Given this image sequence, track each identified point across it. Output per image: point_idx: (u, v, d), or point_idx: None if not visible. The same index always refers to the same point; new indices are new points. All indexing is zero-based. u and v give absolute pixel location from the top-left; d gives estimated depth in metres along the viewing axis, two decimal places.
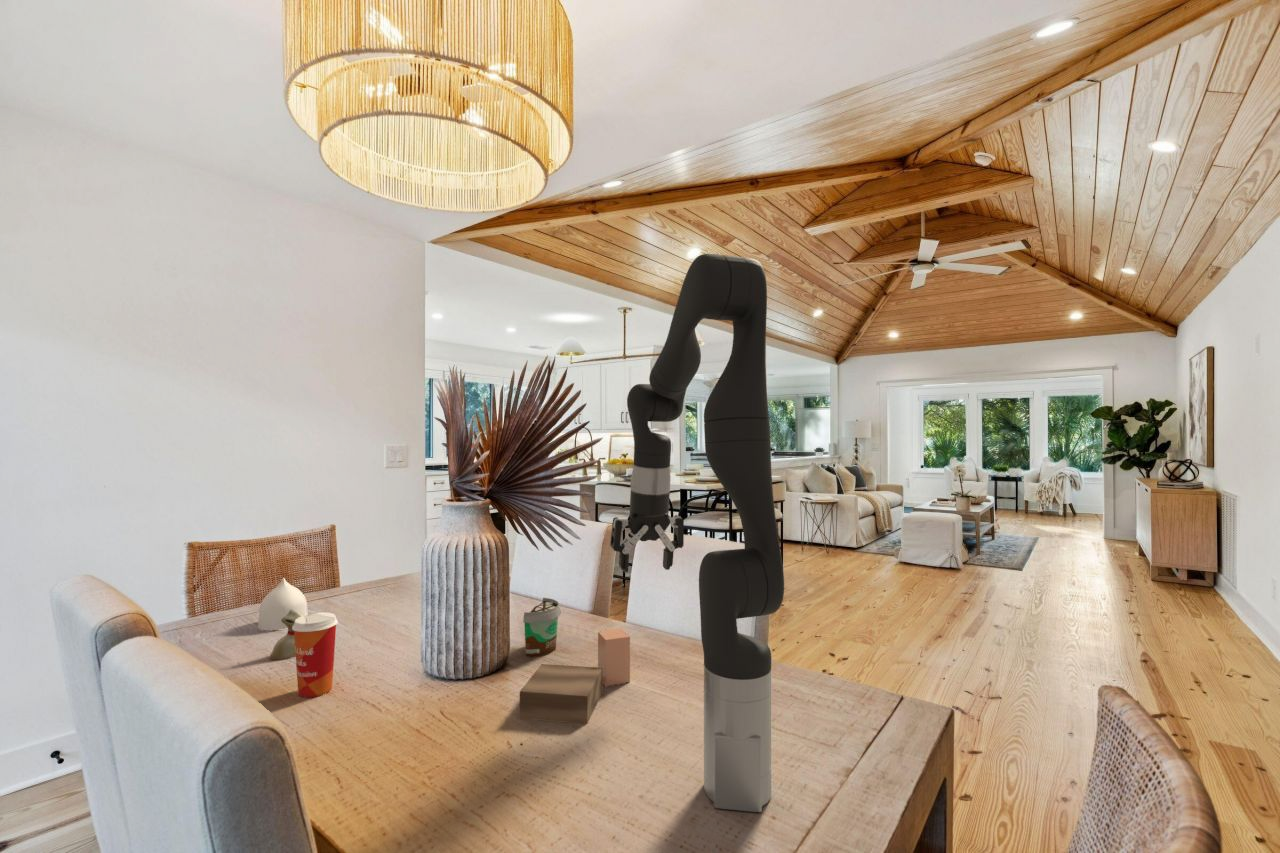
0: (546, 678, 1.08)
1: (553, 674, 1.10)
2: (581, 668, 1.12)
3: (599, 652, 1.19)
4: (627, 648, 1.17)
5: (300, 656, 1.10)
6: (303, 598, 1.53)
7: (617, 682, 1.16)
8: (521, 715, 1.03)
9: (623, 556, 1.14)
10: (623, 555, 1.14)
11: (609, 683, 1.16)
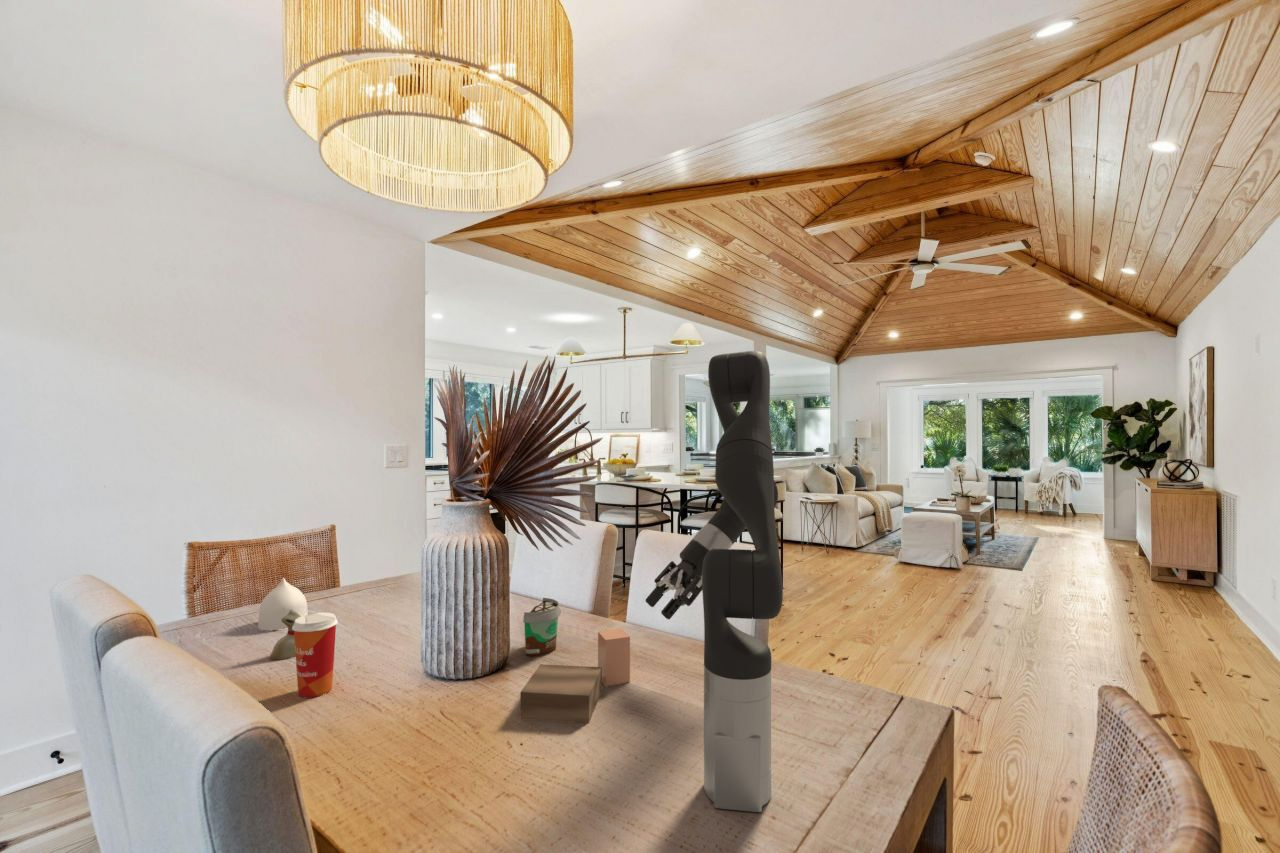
0: (546, 678, 1.08)
1: (552, 674, 1.10)
2: (580, 668, 1.12)
3: (599, 652, 1.19)
4: (627, 648, 1.17)
5: (300, 656, 1.10)
6: (303, 598, 1.53)
7: (617, 682, 1.16)
8: (522, 716, 1.03)
9: None
10: None
11: (609, 683, 1.16)
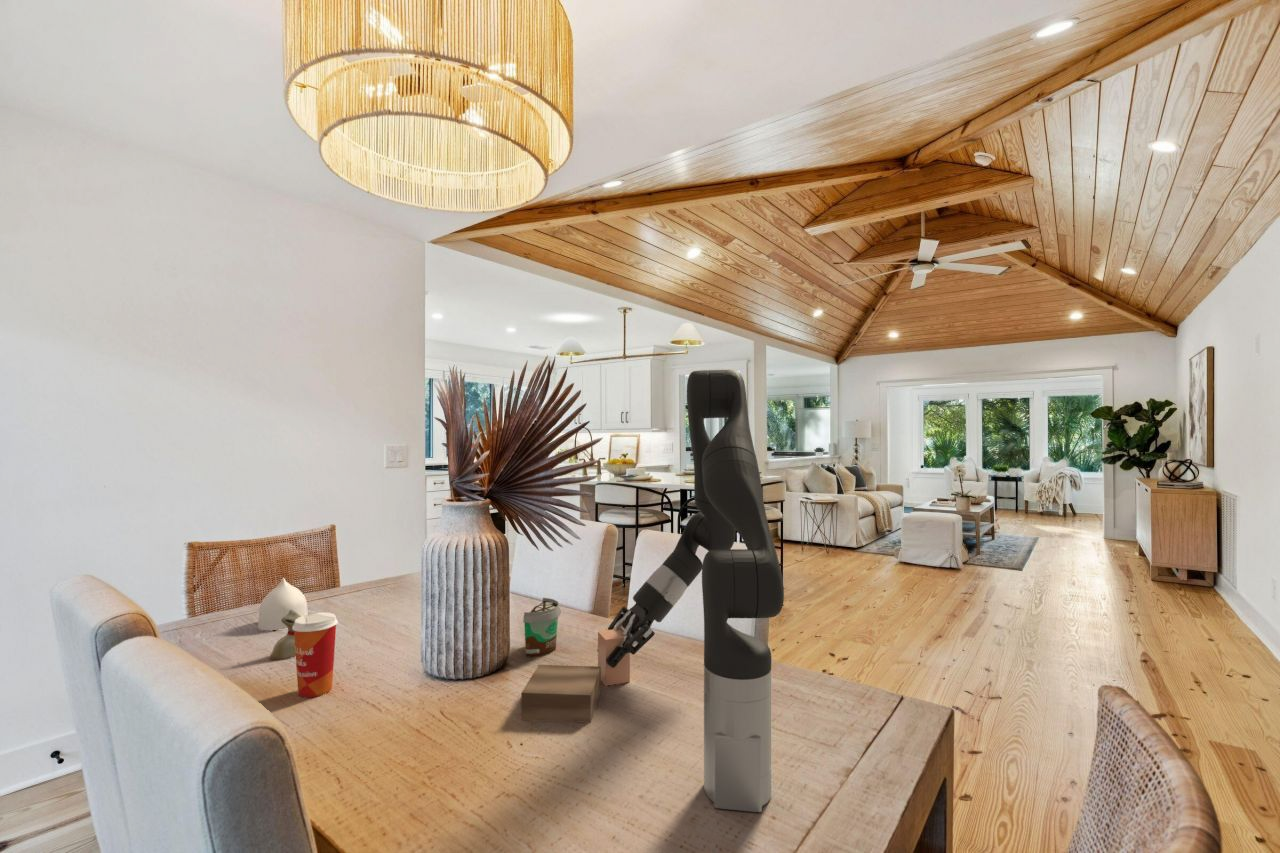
0: (545, 678, 1.08)
1: (552, 674, 1.10)
2: (579, 668, 1.13)
3: (599, 652, 1.19)
4: None
5: (300, 656, 1.10)
6: (303, 598, 1.53)
7: (617, 682, 1.16)
8: (523, 716, 1.02)
9: None
10: None
11: (609, 682, 1.16)
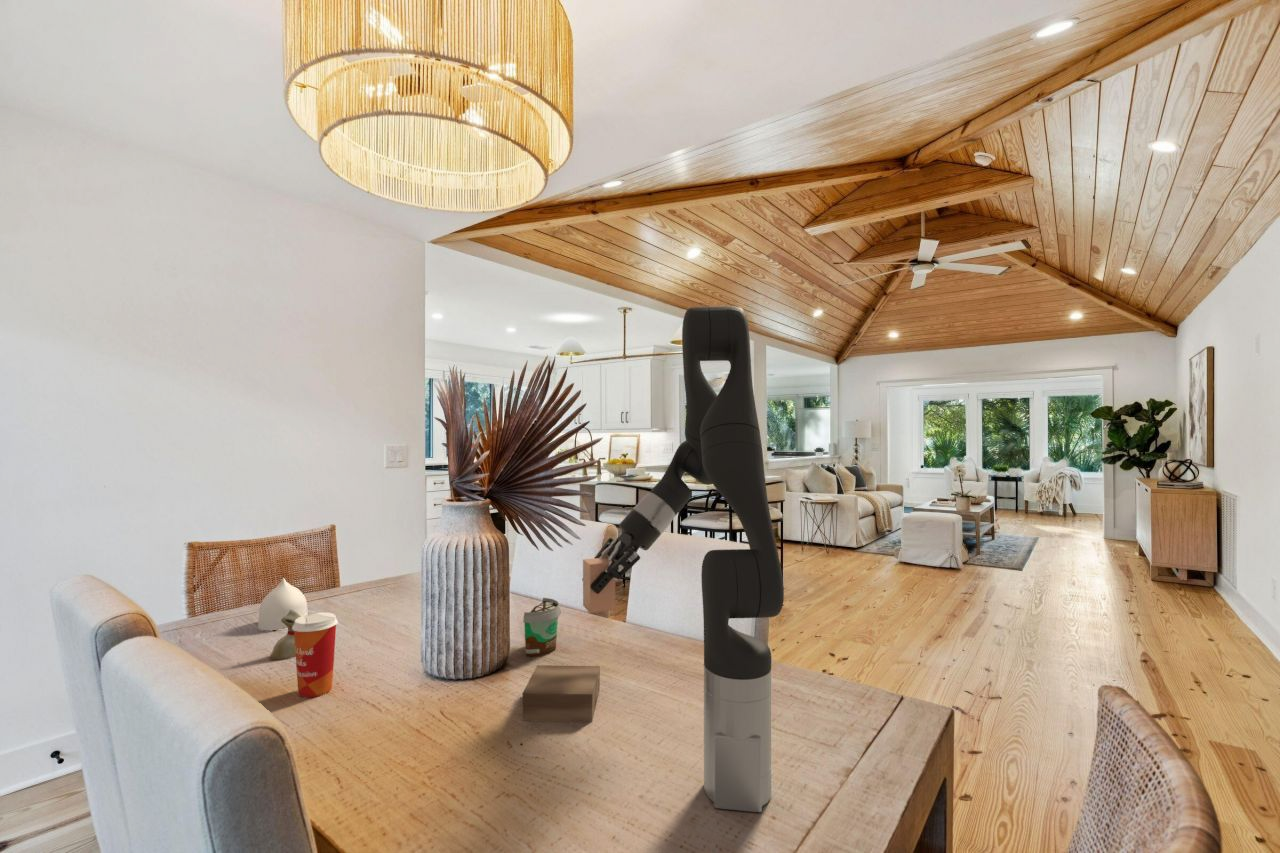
0: (545, 678, 1.08)
1: (551, 674, 1.10)
2: (578, 668, 1.13)
3: (584, 580, 1.15)
4: None
5: (300, 656, 1.10)
6: (303, 598, 1.53)
7: (602, 609, 1.12)
8: (524, 717, 1.02)
9: None
10: None
11: (594, 609, 1.12)
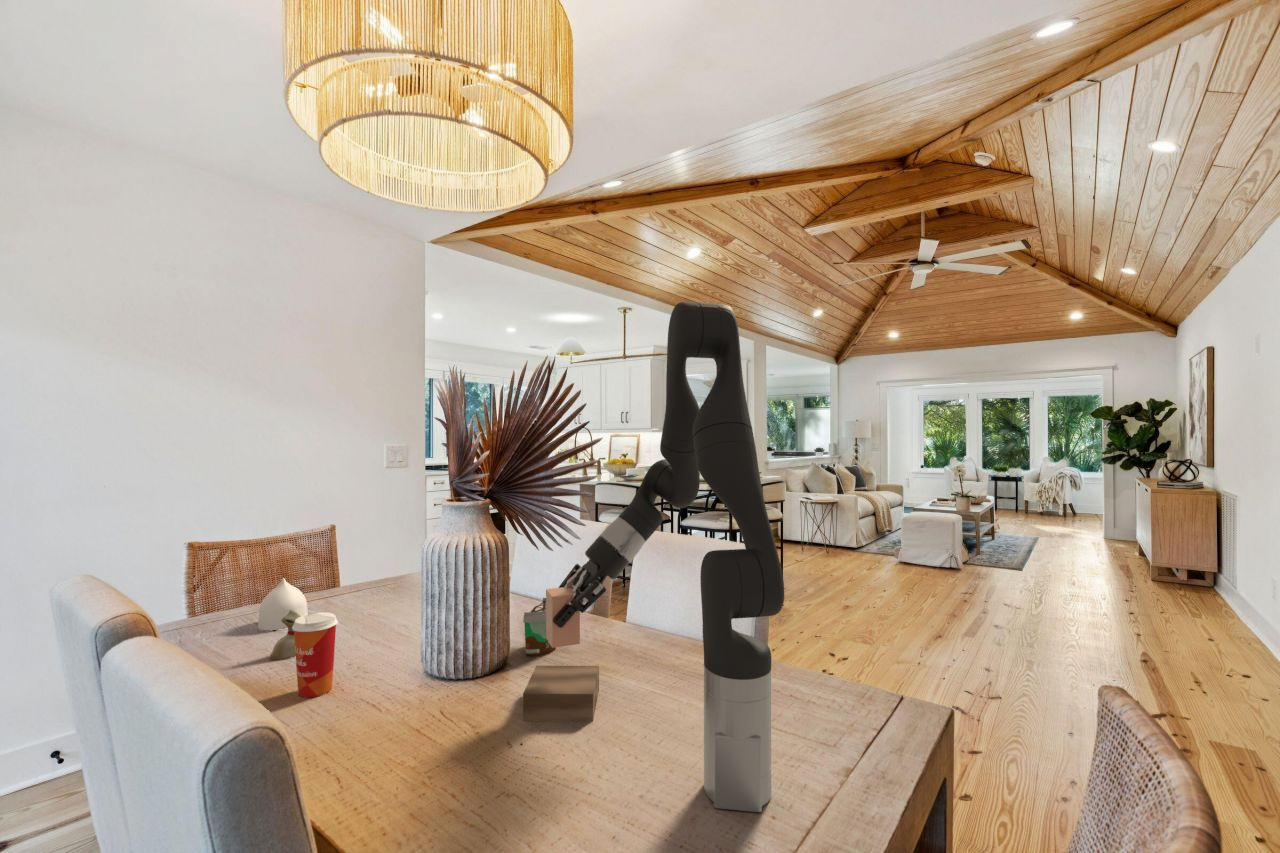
0: (545, 679, 1.08)
1: (551, 675, 1.10)
2: (577, 668, 1.13)
3: (547, 611, 1.08)
4: None
5: (300, 656, 1.10)
6: (303, 598, 1.53)
7: (565, 643, 1.06)
8: (524, 717, 1.02)
9: None
10: None
11: (556, 644, 1.05)
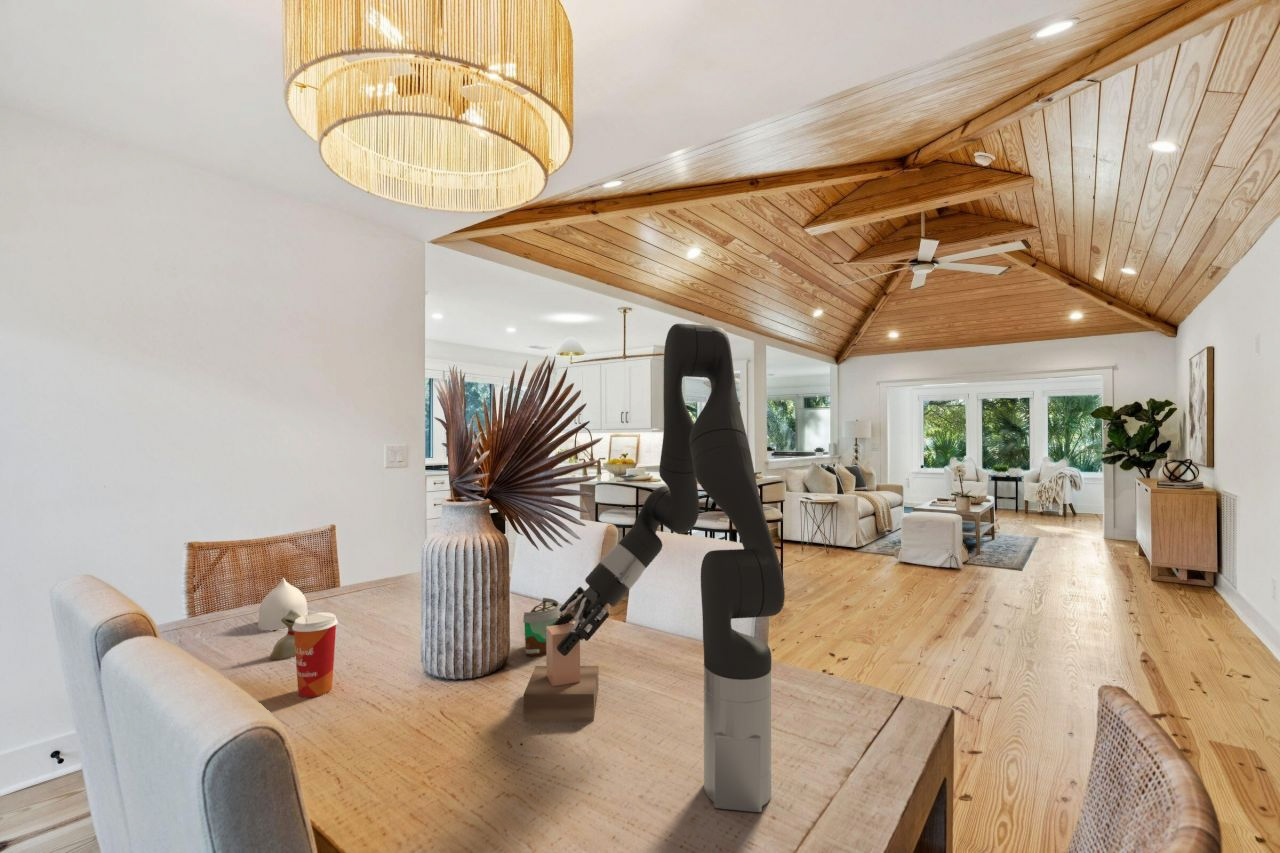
0: (545, 679, 1.08)
1: None
2: None
3: (547, 649, 1.08)
4: (577, 644, 1.06)
5: (300, 656, 1.10)
6: (303, 598, 1.53)
7: (566, 681, 1.06)
8: (525, 718, 1.02)
9: None
10: None
11: (557, 682, 1.05)
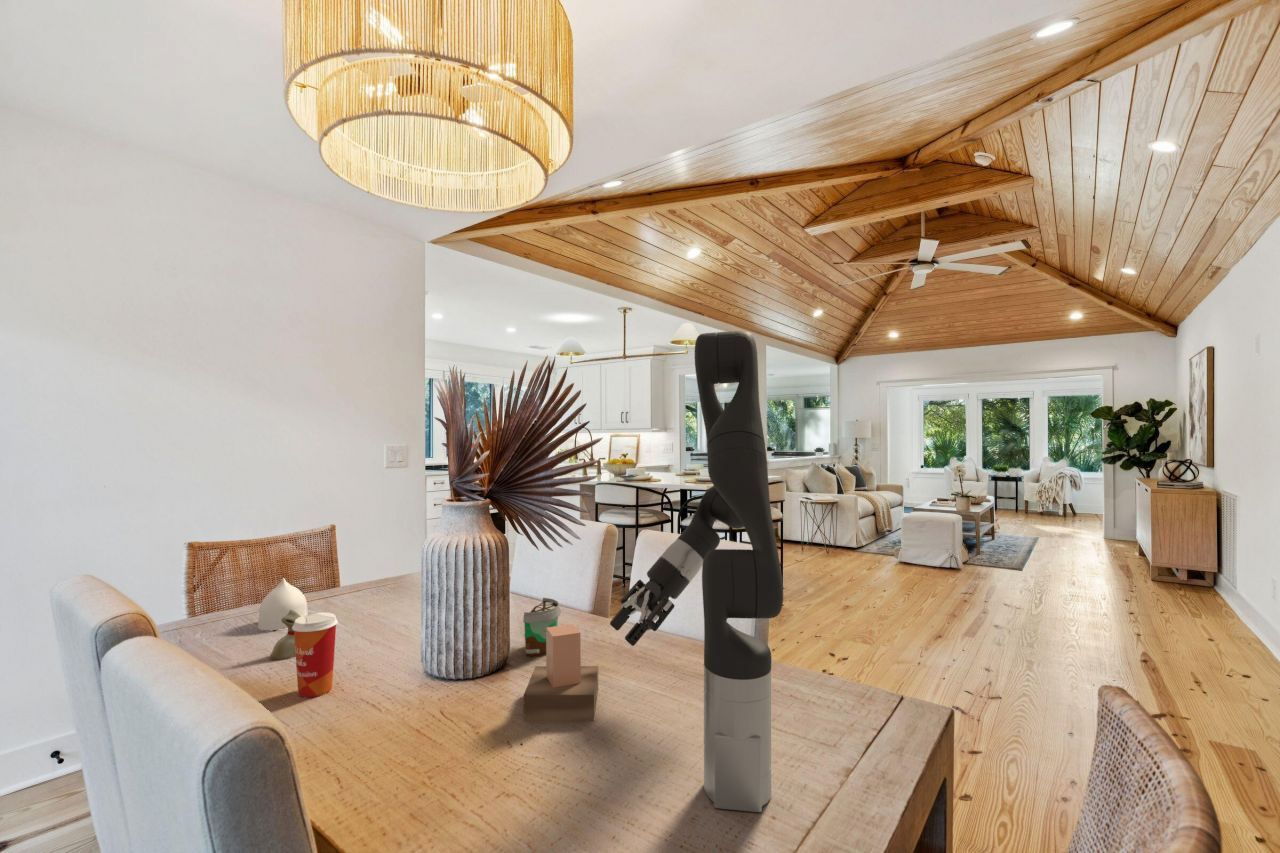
0: (545, 680, 1.08)
1: None
2: None
3: (547, 650, 1.08)
4: (577, 645, 1.06)
5: (300, 656, 1.10)
6: (303, 598, 1.53)
7: (566, 683, 1.05)
8: (525, 719, 1.02)
9: None
10: None
11: (557, 684, 1.05)
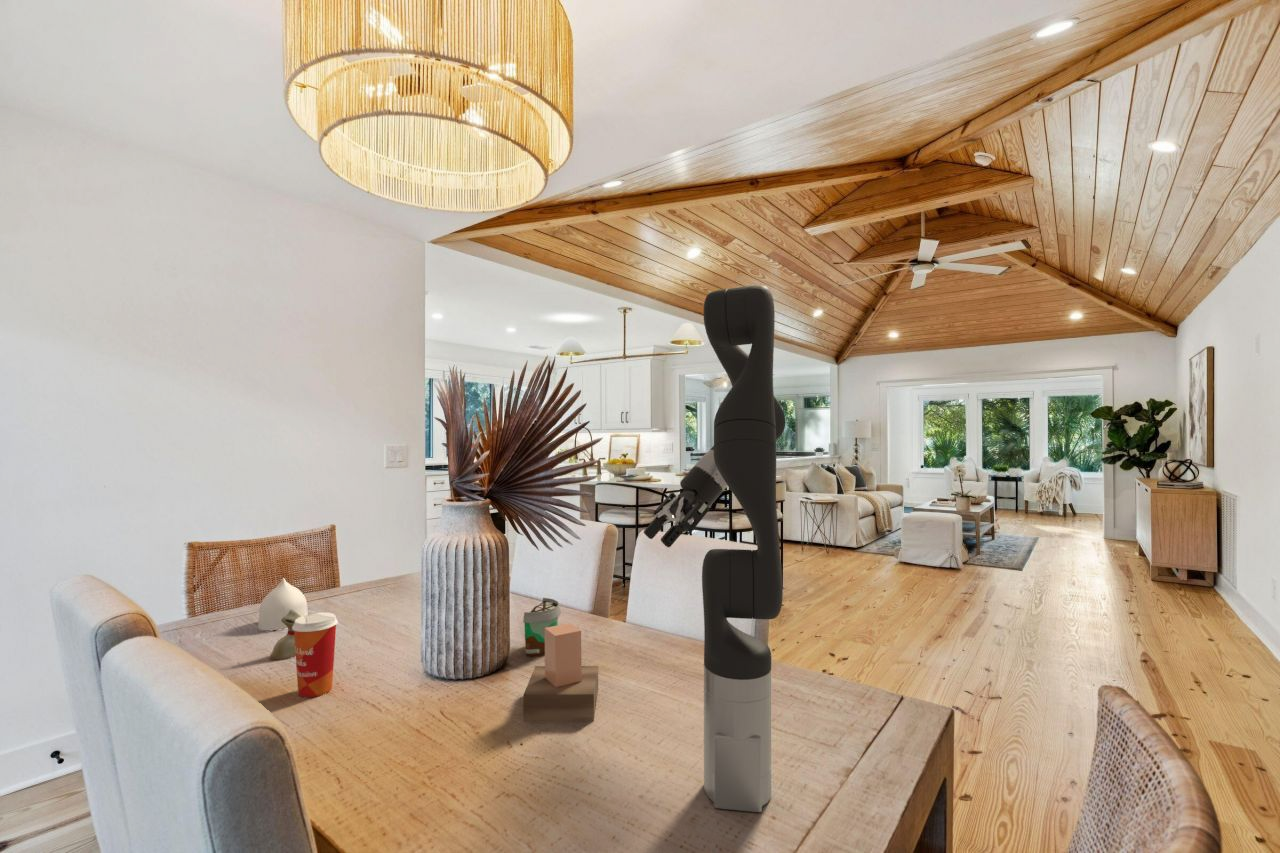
0: (545, 679, 1.08)
1: None
2: None
3: (547, 650, 1.08)
4: (578, 643, 1.07)
5: (300, 656, 1.10)
6: (303, 598, 1.53)
7: (568, 682, 1.06)
8: (525, 718, 1.02)
9: None
10: None
11: (559, 683, 1.05)
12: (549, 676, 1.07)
